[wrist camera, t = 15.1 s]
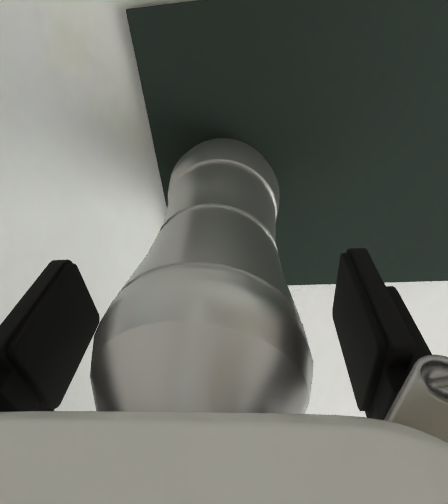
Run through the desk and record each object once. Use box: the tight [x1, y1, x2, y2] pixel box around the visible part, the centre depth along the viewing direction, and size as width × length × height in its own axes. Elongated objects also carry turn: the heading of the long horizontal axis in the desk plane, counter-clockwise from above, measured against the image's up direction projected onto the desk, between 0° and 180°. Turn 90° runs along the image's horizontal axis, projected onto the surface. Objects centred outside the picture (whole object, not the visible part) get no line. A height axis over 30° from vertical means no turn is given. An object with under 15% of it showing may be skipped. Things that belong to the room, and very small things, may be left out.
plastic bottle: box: [90, 138, 313, 414], centre depth 14 cm, size 6×7×20 cm
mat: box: [126, 0, 448, 285], centre depth 21 cm, size 19×31×1 cm, turn 95°
